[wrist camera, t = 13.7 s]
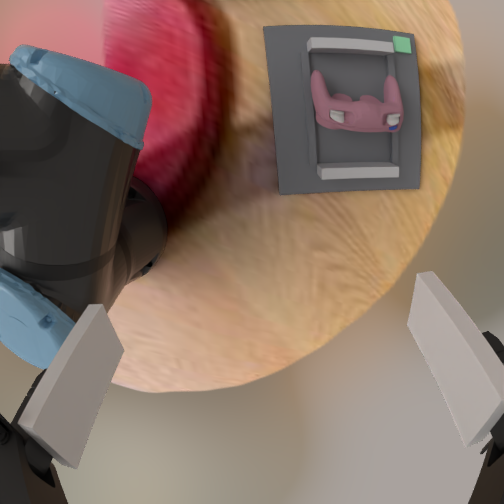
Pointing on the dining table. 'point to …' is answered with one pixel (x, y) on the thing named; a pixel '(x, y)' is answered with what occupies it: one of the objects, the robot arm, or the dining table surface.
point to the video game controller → (358, 108)
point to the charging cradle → (354, 85)
